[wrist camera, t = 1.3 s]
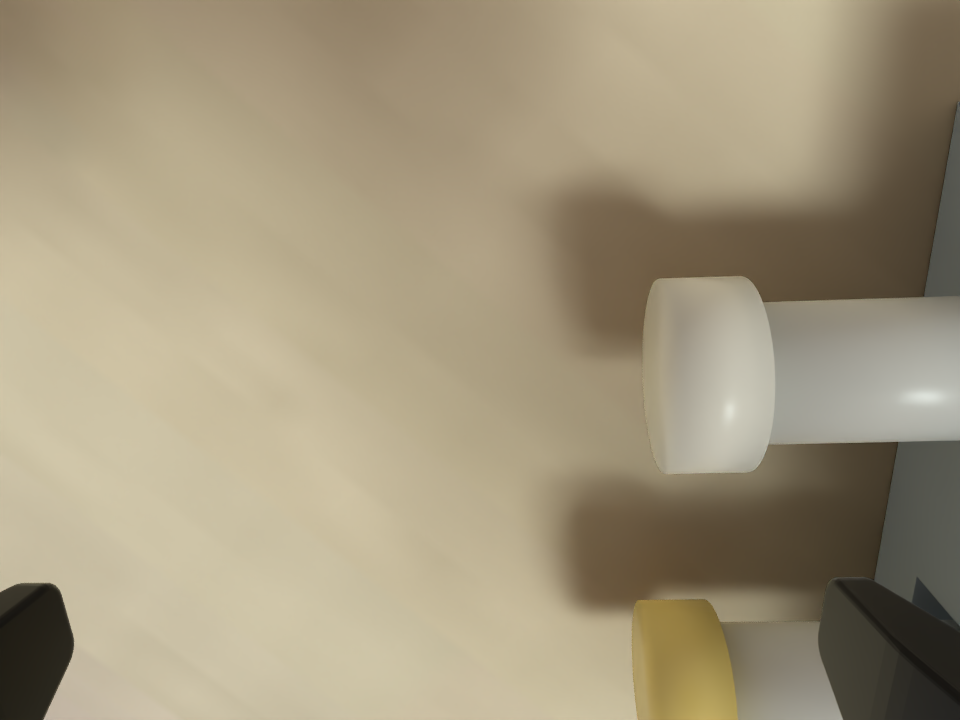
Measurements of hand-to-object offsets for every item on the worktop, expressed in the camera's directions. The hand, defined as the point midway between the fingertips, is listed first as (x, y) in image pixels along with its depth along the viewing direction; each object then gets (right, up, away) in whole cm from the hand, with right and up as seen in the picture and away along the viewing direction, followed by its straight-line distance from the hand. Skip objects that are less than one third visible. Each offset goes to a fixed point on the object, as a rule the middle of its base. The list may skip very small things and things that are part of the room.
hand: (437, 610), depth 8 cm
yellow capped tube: (+9, -5, +13) cm, 17 cm away
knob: (+9, +3, +10) cm, 14 cm away
